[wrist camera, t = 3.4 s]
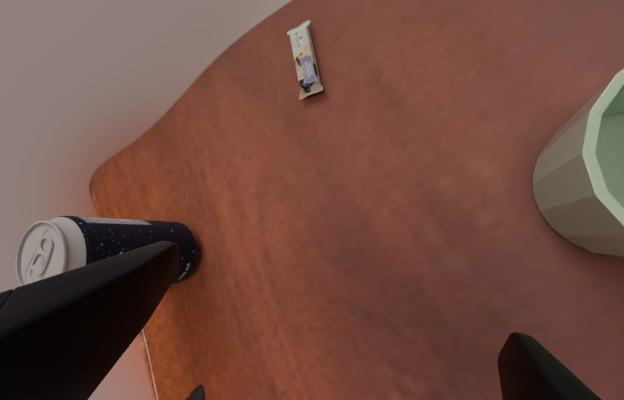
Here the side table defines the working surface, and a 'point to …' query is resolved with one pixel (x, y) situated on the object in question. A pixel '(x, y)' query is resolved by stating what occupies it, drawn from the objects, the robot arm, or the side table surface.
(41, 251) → the beverage can
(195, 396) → the insect
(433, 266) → the side table surface
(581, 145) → the cup
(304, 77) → the granola bar
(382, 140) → the side table surface
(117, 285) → the robot arm
